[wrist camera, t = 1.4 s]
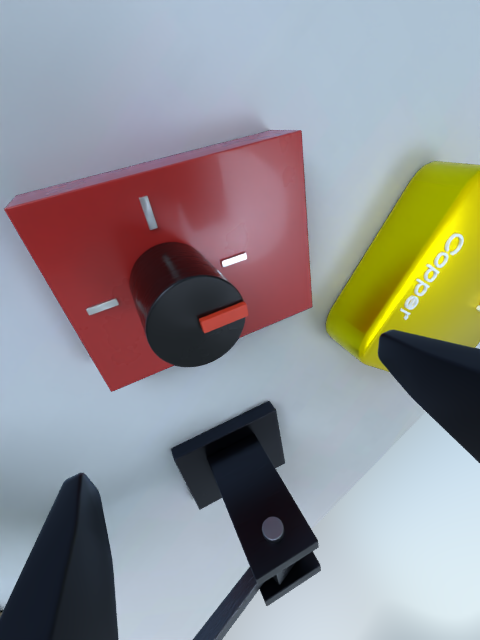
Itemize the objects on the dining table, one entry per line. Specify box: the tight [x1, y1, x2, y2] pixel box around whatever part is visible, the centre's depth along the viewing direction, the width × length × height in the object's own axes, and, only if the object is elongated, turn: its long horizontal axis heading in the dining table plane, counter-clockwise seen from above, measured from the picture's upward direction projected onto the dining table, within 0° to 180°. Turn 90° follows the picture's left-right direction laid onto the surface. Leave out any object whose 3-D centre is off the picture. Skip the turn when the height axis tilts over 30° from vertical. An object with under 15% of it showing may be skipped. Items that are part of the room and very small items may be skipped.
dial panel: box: [4, 130, 312, 392], centre depth 18 cm, size 13×10×3 cm
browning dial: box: [129, 242, 249, 367], centre depth 14 cm, size 4×4×5 cm
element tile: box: [326, 161, 480, 372], centre depth 27 cm, size 15×15×5 cm
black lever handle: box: [193, 562, 296, 640], centre depth 20 cm, size 12×6×2 cm, turn 99°
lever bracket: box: [171, 401, 321, 606], centre depth 25 cm, size 9×8×10 cm
